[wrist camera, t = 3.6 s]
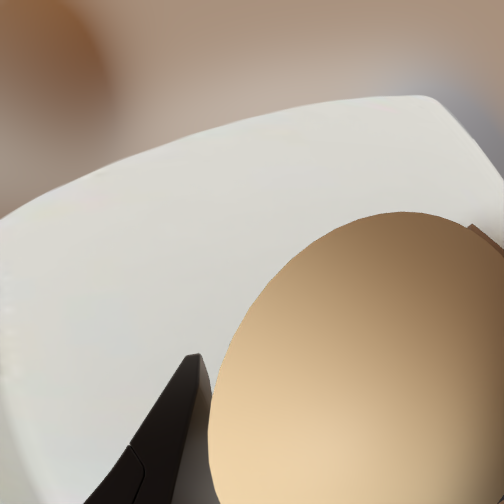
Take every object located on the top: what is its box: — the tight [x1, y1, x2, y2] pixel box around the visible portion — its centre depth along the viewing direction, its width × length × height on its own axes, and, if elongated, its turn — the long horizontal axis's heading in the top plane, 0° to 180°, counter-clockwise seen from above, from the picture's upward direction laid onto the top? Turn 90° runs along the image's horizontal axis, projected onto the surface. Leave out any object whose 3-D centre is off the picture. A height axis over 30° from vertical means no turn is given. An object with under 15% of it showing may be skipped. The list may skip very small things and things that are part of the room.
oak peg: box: [208, 212, 504, 504], centre depth 8 cm, size 4×4×12 cm
